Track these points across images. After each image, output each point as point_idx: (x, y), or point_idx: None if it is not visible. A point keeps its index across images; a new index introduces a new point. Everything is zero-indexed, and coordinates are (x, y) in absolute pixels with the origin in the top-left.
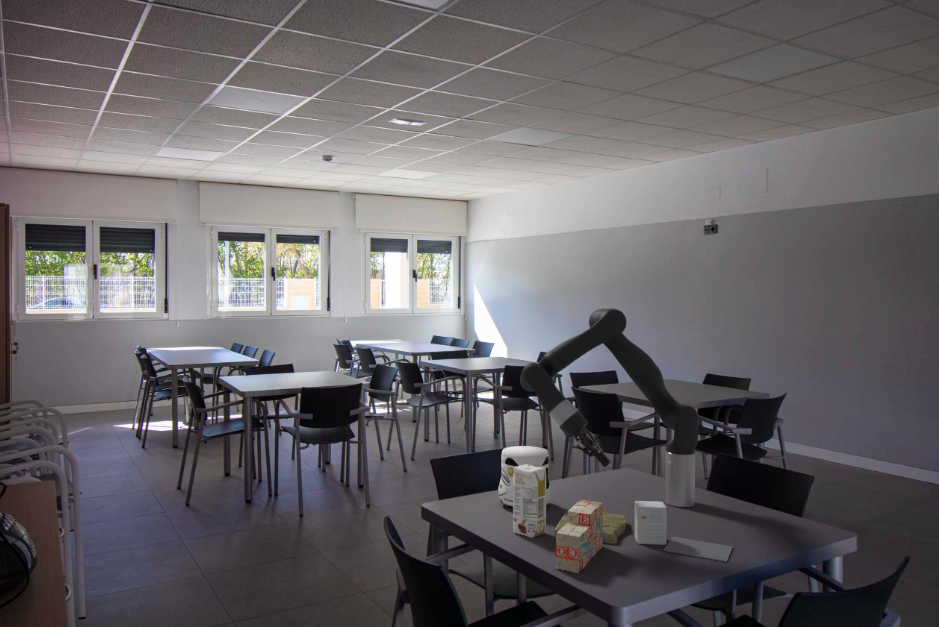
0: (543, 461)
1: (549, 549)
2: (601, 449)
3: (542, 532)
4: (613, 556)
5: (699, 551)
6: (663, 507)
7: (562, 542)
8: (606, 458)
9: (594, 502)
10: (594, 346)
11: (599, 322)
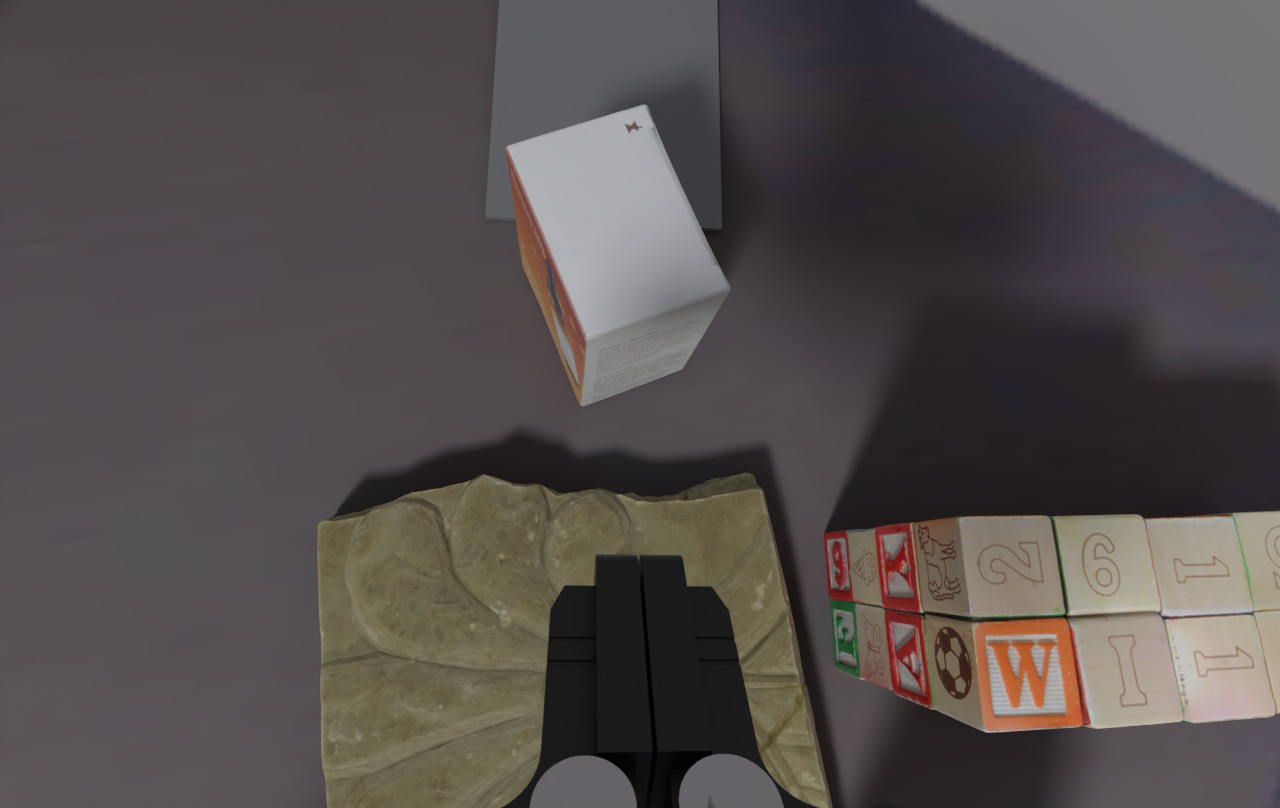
0: None
1: (1042, 802)
2: (596, 802)
3: None
4: (931, 438)
5: (651, 77)
6: (651, 121)
7: None
8: (666, 615)
9: (998, 586)
10: None
11: None
